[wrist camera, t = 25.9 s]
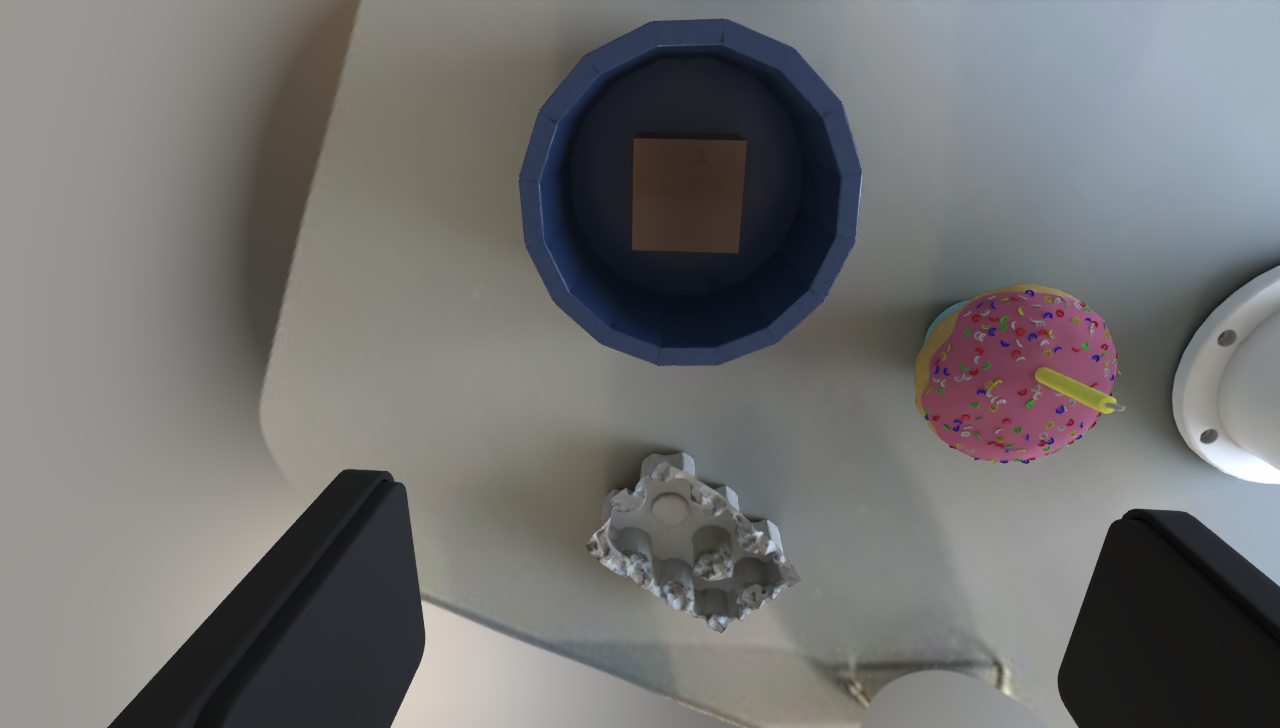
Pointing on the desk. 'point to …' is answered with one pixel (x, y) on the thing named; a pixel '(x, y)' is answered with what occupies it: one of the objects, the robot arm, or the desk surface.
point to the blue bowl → (772, 204)
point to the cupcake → (1015, 373)
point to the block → (687, 192)
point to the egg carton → (691, 544)
